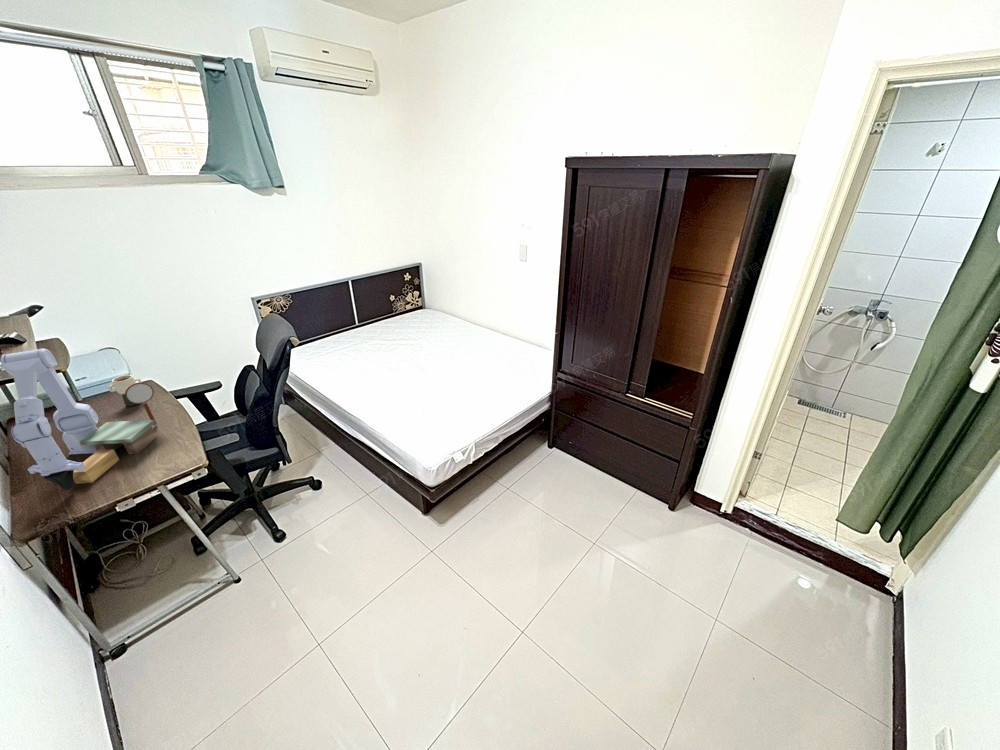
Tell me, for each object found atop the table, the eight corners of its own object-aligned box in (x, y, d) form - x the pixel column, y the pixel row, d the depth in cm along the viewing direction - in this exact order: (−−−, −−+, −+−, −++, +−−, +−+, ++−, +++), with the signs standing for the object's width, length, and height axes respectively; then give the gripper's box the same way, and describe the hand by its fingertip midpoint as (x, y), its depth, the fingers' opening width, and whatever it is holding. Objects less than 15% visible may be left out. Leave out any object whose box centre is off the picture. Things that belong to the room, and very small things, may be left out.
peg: (76, 484, 133) (69, 472, 131) (105, 461, 144) (98, 450, 142) (92, 483, 134) (85, 471, 131) (119, 460, 144) (113, 449, 142)
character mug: (149, 396, 185) (137, 371, 179) (150, 402, 180) (138, 376, 174) (118, 405, 178) (105, 379, 172) (119, 411, 174) (105, 385, 168)
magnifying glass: (143, 431, 160) (121, 388, 151) (142, 430, 161) (120, 387, 151) (168, 421, 166) (149, 380, 157) (167, 420, 167) (147, 378, 158)
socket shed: (89, 459, 144) (79, 441, 141) (116, 438, 155) (106, 422, 152) (139, 456, 146) (129, 439, 142) (161, 436, 157) (153, 419, 153)
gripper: (9, 464, 118) (34, 498, 124) (61, 461, 119) (83, 495, 126) (31, 449, 125) (54, 482, 131) (81, 447, 126) (101, 479, 132)
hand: (69, 487), depth 129 cm, fingers closed
